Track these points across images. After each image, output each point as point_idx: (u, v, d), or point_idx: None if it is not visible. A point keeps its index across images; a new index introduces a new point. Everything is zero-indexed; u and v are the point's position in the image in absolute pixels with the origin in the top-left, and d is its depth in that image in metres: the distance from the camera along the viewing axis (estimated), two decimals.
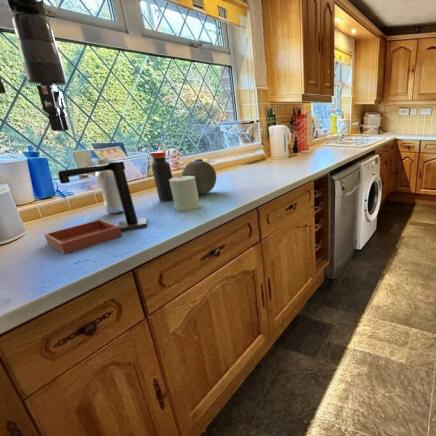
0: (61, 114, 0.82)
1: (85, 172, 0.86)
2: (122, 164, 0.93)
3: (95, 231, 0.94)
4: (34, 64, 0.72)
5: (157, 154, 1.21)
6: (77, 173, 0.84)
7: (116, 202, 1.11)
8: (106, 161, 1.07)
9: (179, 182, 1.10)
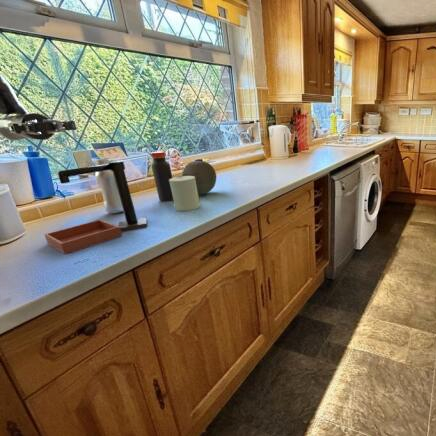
0: None
1: (85, 172, 0.86)
2: (122, 164, 0.93)
3: (95, 231, 0.94)
4: None
5: (157, 154, 1.21)
6: (77, 173, 0.84)
7: (116, 202, 1.11)
8: (106, 161, 1.07)
9: (179, 182, 1.10)
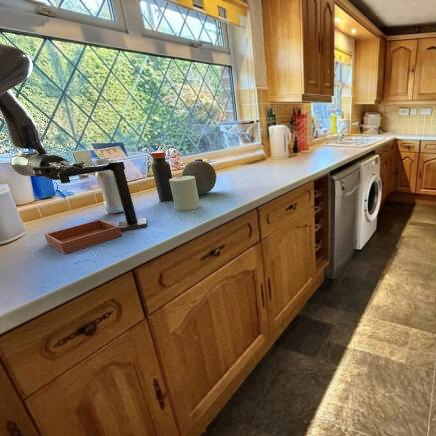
0: None
1: (85, 172, 0.86)
2: (122, 164, 0.93)
3: (95, 231, 0.94)
4: None
5: (157, 154, 1.21)
6: (77, 173, 0.84)
7: (116, 202, 1.11)
8: (106, 161, 1.07)
9: (179, 182, 1.10)
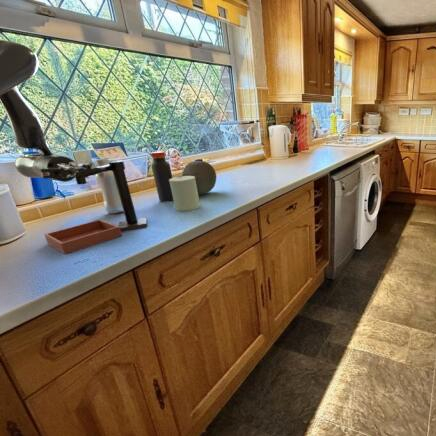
0: None
1: (97, 172, 0.85)
2: (123, 164, 0.93)
3: (95, 231, 0.94)
4: None
5: (157, 154, 1.21)
6: (91, 173, 0.83)
7: (116, 202, 1.11)
8: (106, 161, 1.07)
9: (179, 182, 1.10)
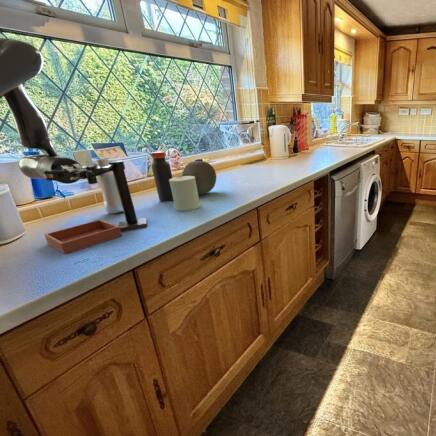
0: None
1: (104, 172, 0.85)
2: (123, 163, 0.94)
3: (95, 231, 0.94)
4: None
5: (157, 154, 1.21)
6: (100, 173, 0.83)
7: (116, 202, 1.11)
8: (106, 161, 1.07)
9: (179, 182, 1.10)
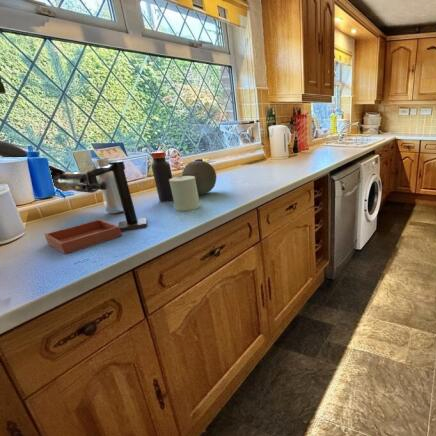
0: None
1: (104, 172, 0.85)
2: (123, 163, 0.94)
3: (95, 231, 0.94)
4: None
5: (157, 154, 1.21)
6: (100, 173, 0.83)
7: (116, 201, 1.11)
8: (106, 161, 1.07)
9: (179, 182, 1.10)
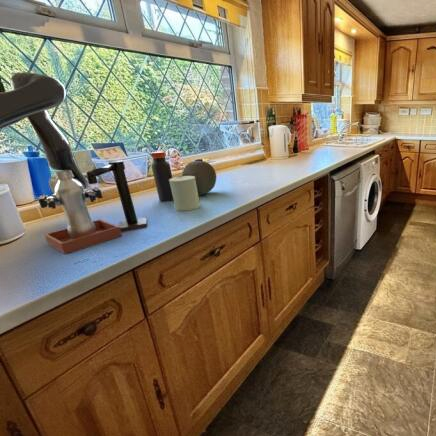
0: (54, 203, 0.85)
1: (104, 172, 0.85)
2: (123, 163, 0.94)
3: None
4: (84, 186, 0.97)
5: (157, 154, 1.21)
6: (100, 173, 0.83)
7: (77, 226, 0.86)
8: (64, 174, 0.82)
9: (179, 182, 1.10)
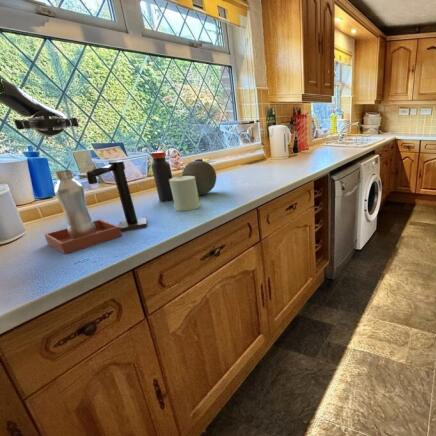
0: (30, 125, 0.87)
1: (104, 172, 0.85)
2: (123, 163, 0.94)
3: None
4: None
5: (157, 154, 1.21)
6: (100, 173, 0.83)
7: (77, 226, 0.85)
8: (64, 174, 0.82)
9: (179, 182, 1.10)
